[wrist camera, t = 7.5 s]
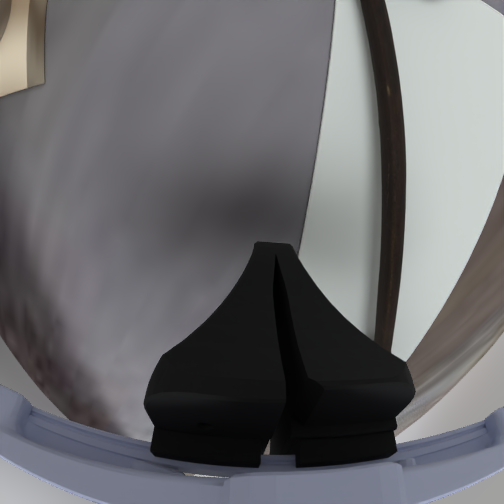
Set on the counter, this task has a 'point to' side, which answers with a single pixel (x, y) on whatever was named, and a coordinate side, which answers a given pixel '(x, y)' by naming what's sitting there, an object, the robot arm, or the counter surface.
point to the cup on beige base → (21, 44)
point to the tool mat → (407, 159)
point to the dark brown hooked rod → (388, 166)
